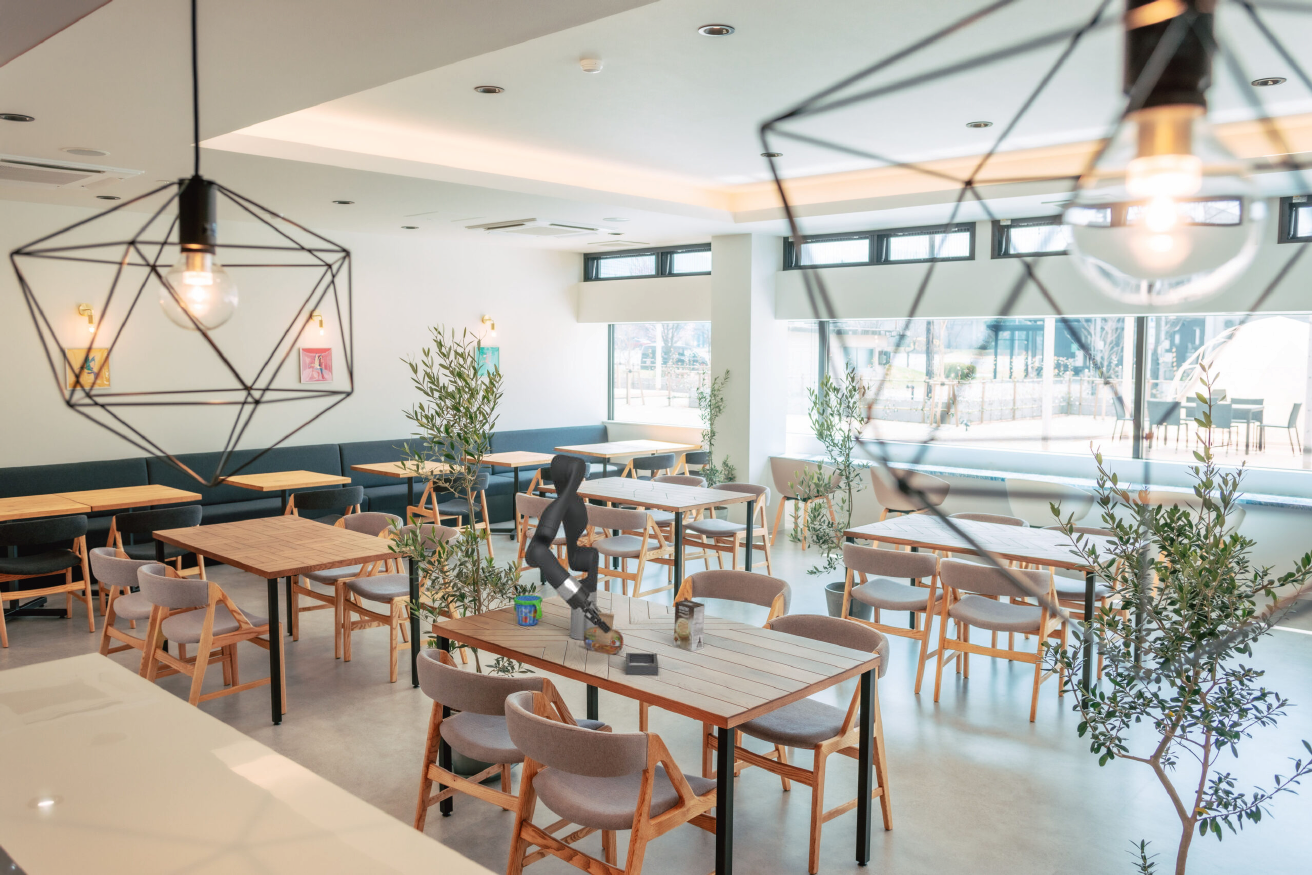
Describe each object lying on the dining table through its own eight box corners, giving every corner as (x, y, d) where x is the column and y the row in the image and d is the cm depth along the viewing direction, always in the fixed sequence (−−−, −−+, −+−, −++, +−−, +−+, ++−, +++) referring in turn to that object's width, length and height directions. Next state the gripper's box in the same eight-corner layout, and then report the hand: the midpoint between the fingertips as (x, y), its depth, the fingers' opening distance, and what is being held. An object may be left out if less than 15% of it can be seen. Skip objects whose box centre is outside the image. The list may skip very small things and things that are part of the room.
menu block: (595, 640, 303) (598, 612, 302) (610, 641, 303) (614, 613, 303) (594, 643, 300) (598, 614, 299) (609, 645, 300) (613, 616, 299)
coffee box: (672, 645, 329) (674, 601, 328) (684, 642, 334) (685, 599, 333) (692, 651, 323) (693, 606, 322) (703, 648, 328) (705, 603, 327)
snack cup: (505, 621, 356) (506, 595, 355) (529, 617, 362) (530, 592, 361) (525, 630, 343) (525, 603, 343) (549, 626, 349) (550, 600, 349)
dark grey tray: (625, 661, 309) (626, 652, 309) (656, 662, 309) (656, 653, 309) (625, 674, 295) (625, 665, 295) (657, 675, 295) (658, 666, 295)
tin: (582, 649, 322) (583, 625, 321) (587, 647, 324) (588, 623, 324) (619, 656, 315) (620, 632, 314) (624, 654, 317) (625, 630, 317)
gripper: (579, 589, 293) (616, 627, 294) (582, 579, 307) (617, 615, 308) (562, 605, 293) (599, 643, 294) (565, 594, 307) (601, 630, 308)
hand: (608, 629), depth 301 cm, fingers closed on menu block, 3 cm apart
